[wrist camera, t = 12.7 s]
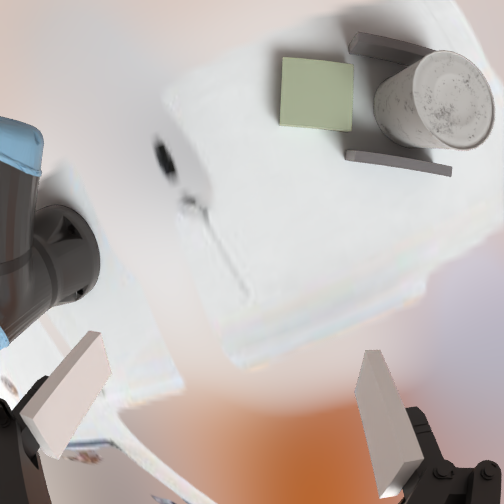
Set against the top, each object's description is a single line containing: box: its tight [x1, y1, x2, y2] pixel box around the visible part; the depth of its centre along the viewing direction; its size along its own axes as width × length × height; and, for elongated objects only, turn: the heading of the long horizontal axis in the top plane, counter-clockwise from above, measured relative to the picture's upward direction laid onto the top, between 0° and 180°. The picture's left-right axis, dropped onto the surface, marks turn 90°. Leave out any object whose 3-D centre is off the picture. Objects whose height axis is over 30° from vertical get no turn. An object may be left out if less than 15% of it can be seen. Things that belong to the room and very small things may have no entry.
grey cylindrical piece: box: [373, 50, 495, 151], centre depth 27 cm, size 10×10×12 cm
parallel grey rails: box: [345, 32, 452, 177], centre depth 30 cm, size 12×15×5 cm
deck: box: [280, 57, 354, 132], centre depth 32 cm, size 8×8×2 cm
